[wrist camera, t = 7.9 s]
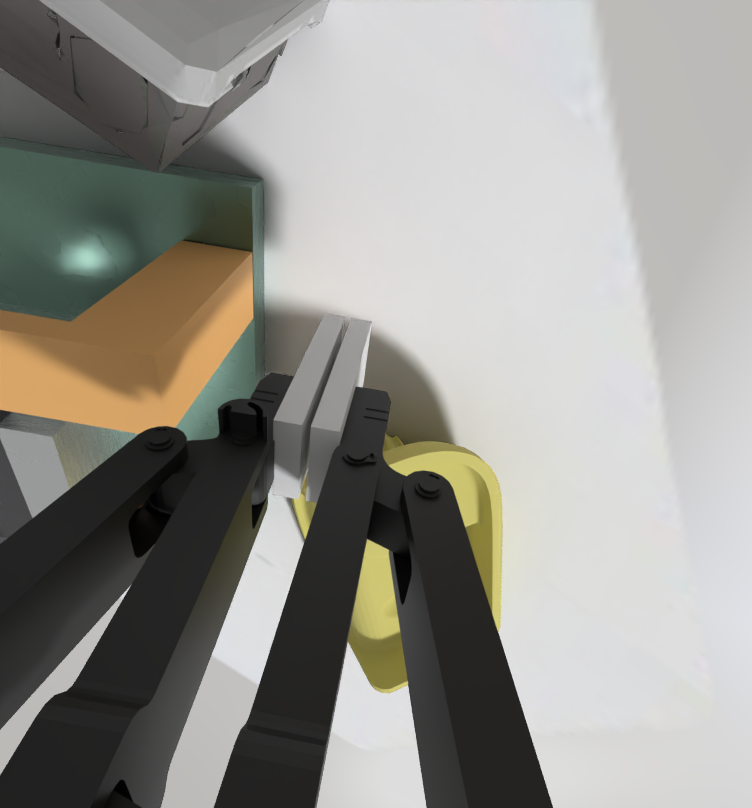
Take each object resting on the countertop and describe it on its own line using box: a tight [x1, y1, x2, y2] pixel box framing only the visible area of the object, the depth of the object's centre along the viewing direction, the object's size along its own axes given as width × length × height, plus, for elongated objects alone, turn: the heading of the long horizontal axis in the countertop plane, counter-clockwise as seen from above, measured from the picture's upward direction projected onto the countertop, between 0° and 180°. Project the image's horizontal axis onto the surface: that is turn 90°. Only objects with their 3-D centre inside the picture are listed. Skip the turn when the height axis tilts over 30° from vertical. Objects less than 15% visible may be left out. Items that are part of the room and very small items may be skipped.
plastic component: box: [291, 433, 502, 693], centre depth 30 cm, size 20×7×10 cm
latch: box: [0, 240, 254, 434], centre depth 18 cm, size 3×6×9 cm, turn 83°
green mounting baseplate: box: [0, 137, 264, 518], centre depth 23 cm, size 20×19×10 cm
